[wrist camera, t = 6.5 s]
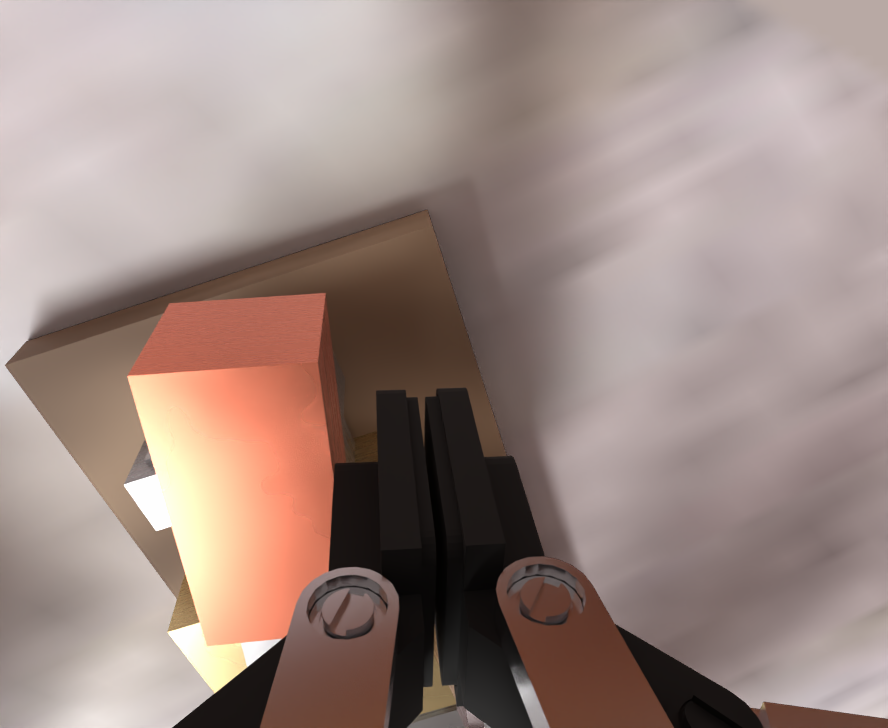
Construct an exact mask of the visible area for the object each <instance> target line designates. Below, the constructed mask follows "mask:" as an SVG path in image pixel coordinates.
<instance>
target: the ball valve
mask: <svg viewBox="0 0 888 728" xmlns="http://www.w3.org/2000/svg"><path fill="white" fill-rule="evenodd" d="M333 357H334V365H335V374H336V382H337V390H338V398H339V407H340V415H341V423H342V431H343V439H344V448H345V456H346V463H354V462H378V452H377V431H375V432H372V433H369V434H365V435H362V436H359V437H356V438H353V436H352V434H351V432H350V430H349V427H348V425H347V423H346V421H345V419H344V395H345V377H344V375H343V372H342V370H341V368H340V366H339V363H338V361H337V359H336V357H335V354H334V352H333ZM124 486H125V487H126V489H127V490H128V492H129V493H130V494H131V496H132V497H133V499H134V500H135V501H136V503H137V504H138V506H139V507H140V509H141V510H142V511H143V513H144V514H145V516H146V517H147V518H148V520H149V521H150V523H151V524H152V526H153V527H154V528H155V530H156V531H157V530H160V529H164V528H167V527H170V526H171V523H170V520H169V516H168V513H167V509H166V506H165V503H164V499H163V496H162V492H161V489H160V486H159V482H158V479H157V475H156V472H155V469H154V465H153V462H152V458H151V455H150V452H149V448H148V445H147V441H146V438H145V440H144V442H143V444H142V447H141V449H140V451H139V453H138V455H137V457H136V459H135V462H134V464H133V466H132V468H131V470H130V472H129V475H128V477H127V479H126V481H125V483H124ZM168 634H169V635H170V636H171V637H172V639H173V640H174V641H175V643H176V644H177V645H178V646H179V648H180V649H181V650H182V652H183V653H184V654H185V656H186V657H187V658H188V659H189V661H190V662H191V663H192V665H193V666H194V667H195V668H196V670H197V671H198V672H199V674H200V675H201V676H202V677H203V679H204V680H205V681H206V683H207V684H208V685H209V686H210V688H211V689H212V690H213V692H214V693H216V692H217V691H218V690H220V689H221V688H222V687H223V686H225V685H226V684H227V683H228V682H229V681H231V680H232V679H233V678H234V677H236V676H237V675H238V674H239V673H241V672H242V671H243V670H244V669H246V668H247V665H246V661H245V657H244V653H243V649H242V645H241V643H235V644H225V645H216V646H207V645H206V642H205V638H204V635H203V632H202V628H201V625H200V622H199V618H198V615H197V611H196V608H195V605H194V601H193V598H192V594H191V591H190V588H189V584H188V581H187V577H186V574H185V575H184V578H183V581H182V585H181V588H180V591H179V595H178V598H177V602H176V605H175V608H174V612H173V615H172V619H171V622H170V625H169V629H168ZM407 728H469V727H468V720H467V713H466V709H465V708H464V706H459V707H457V705H456V698H455V690H454V685H446V686H442V683H441V677H440V668H439V659H438V650H437V641H436V632H435V625H434V660H433V686H432V687H423V711H422V712H421V713H420V714H419V715H418V716H417V717H416V718H415V720H414V721H413V722H412V723H411V724H410V725H409V726H408V727H407Z"/></svg>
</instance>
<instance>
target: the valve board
mask: <svg viewBox="0 0 888 728" xmlns="http://www.w3.org/2000/svg"><path fill="white" fill-rule="evenodd" d="M318 293H326V300H327V308H328V316H329V324H330V333H331V341H332V349H333V352H334V354H335V357H336V359H337V361H338V363H339V366H340V368H341V370H342V372H343V375H344V377H345V395H344V419H345V421H346V423H347V425H348V427H349V430H350V432H351V434H352V436H353V438H356V437H359V436H362V435H365V434H369V433H372V432H375V431H377V413H376V390H406V397H418V404H419V412H420V420H421V428H422V436H423V444H424V426H425V397H430V396H436V389H437V388H467V391H468V395H469V399H470V403H471V407H472V411H473V415H474V419H475V423H476V427H477V431H478V435H479V439H480V443H481V447H482V451H483V455H484V457H497V456H507V455H506V452H505V449H504V446H503V443H502V439H501V436H500V433H499V430H498V427H497V424H496V421H495V418H494V415H493V412H492V408H491V405H490V402H489V399H488V396H487V393H486V390H485V387H484V384H483V381H482V377H481V374H480V371H479V368H478V365H477V362H476V359H475V356H474V353H473V350H472V346H471V343H470V340H469V337H468V334H467V331H466V328H465V325H464V322H463V319H462V315H461V312H460V309H459V306H458V303H457V300H456V297H455V294H454V291H453V287H452V284H451V281H450V278H449V275H448V272H447V269H446V266H445V263H444V260H443V256H442V253H441V250H440V247H439V244H438V241H437V238H436V235H435V232H434V229H433V225H432V222H431V219H430V216H429V213H428V210H425V211H422V212H419V213H416V214H413V215H410V216H406V217H403V218H400V219H397V220H394V221H391V222H388V223H385V224H382V225H379V226H376V227H373V228H370V229H367V230H364V231H361V232H358V233H355V234H352V235H349V236H346V237H343V238H340V239H337V240H333V241H330V242H327V243H324V244H321V245H318V246H315V247H312V248H309V249H306V250H303V251H300V252H297V253H294V254H291V255H288V256H285V257H282V258H279V259H276V260H273V261H270V262H267V263H264V264H260V265H257V266H254V267H251V268H248V269H245V270H242V271H239V272H236V273H233V274H230V275H227V276H224V277H221V278H218V279H215V280H212V281H209V282H206V283H203V284H200V285H197V286H194V287H191V288H187V289H184V290H181V291H178V292H175V293H172V294H169V295H166V296H163V297H160V298H157V299H154V300H151V301H148V302H145V303H142V304H139V305H136V306H133V307H130V308H127V309H124V310H121V311H117V312H114V313H111V314H108V315H105V316H102V317H99V318H96V319H93V320H90V321H87V322H84V323H81V324H78V325H75V326H72V327H69V328H66V329H63V330H60V331H57V332H54V333H51V334H48V335H44V336H41V337H38V338H35V339H32V340H29V341H26V343H25V344H24V345H23V346H22V347H21V348H20V349H19V350H18V351H17V353H16V354H15V355H14V356H13V357H12V358H11V359H10V360H9V361H8V362H7V364H6V365H5V366H6V367H7V369H8V370H9V372H10V373H11V374H12V376H13V377H14V378H15V380H16V381H17V382H18V384H19V385H20V386H21V388H22V389H23V391H24V392H25V393H26V395H27V396H28V397H29V399H30V400H31V401H32V403H33V404H34V405H35V407H36V408H37V410H38V411H39V412H40V414H41V415H42V416H43V418H44V419H45V420H46V422H47V423H48V424H49V426H50V427H51V429H52V430H53V431H54V433H55V434H56V435H57V437H58V438H59V439H60V441H61V442H62V443H63V445H64V446H65V448H66V449H67V450H68V452H69V453H70V454H71V456H72V457H73V458H74V460H75V461H76V463H77V464H78V465H79V467H80V468H81V469H82V471H83V472H84V473H85V475H86V476H87V477H88V479H89V480H90V482H91V483H92V484H93V486H94V487H95V488H96V490H97V491H98V492H99V494H100V495H101V496H102V498H103V499H104V501H105V502H106V503H107V505H108V506H109V507H110V509H111V510H112V511H113V513H114V514H115V515H116V517H117V518H118V520H119V521H120V522H121V524H122V525H123V526H124V528H125V529H126V530H127V532H128V533H129V534H130V536H131V537H132V539H133V540H134V541H135V543H136V544H137V545H138V547H139V548H140V549H141V551H142V552H143V553H144V555H145V556H146V558H147V559H148V560H149V562H150V563H151V564H152V566H153V567H154V568H155V570H156V571H157V572H158V574H159V575H160V577H161V578H162V579H163V581H164V582H165V583H166V585H167V586H168V587H169V589H170V590H171V591H172V593H173V594H174V596H175V597H176V598H178V595H179V591H180V588H181V585H182V581H183V578H184V575H185V571H184V567H183V564H182V560H181V557H180V554H179V550H178V547H177V543H176V540H175V537H174V533H173V530H172V526H170V527H167V528H164V529H160V530H157V531H156V530H155V528H154V527H153V526H152V524H151V523H150V521H149V520H148V518H147V517H146V516H145V514H144V513H143V511H142V510H141V509H140V507H139V506H138V504H137V503H136V501H135V500H134V499H133V497H132V496H131V494H130V493H129V492H128V490H127V489H126V487H125V486H124V483H125V481H126V479H127V477H128V475H129V472H130V470H131V468H132V466H133V464H134V462H135V459H136V457H137V455H138V453H139V451H140V449H141V447H142V444H143V442H144V440H145V435H144V431H143V428H142V425H141V421H140V418H139V414H138V411H137V408H136V404H135V401H134V397H133V394H132V391H131V387H130V384H129V380H128V377H127V376H128V374H129V372H130V370H131V369H132V367H133V365H134V364H135V362H136V360H137V358H138V357H139V355H140V353H141V351H142V350H143V348H144V346H145V345H146V343H147V341H148V339H149V338H150V336H151V334H152V333H153V331H154V329H155V327H156V326H157V324H158V322H159V320H160V319H161V317H162V315H163V314H164V312H165V310H166V308H167V307H168V305H169V303H181V302H197V301H212V300H227V299H242V298H257V297H272V296H288V295H303V294H318Z"/></svg>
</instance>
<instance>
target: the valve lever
mask: <svg viewBox="0 0 888 728" xmlns="http://www.w3.org/2000/svg"><path fill="white" fill-rule="evenodd" d="M127 377H128V380H129V384H130V387H131V391H132V394H133V397H134V401H135V404H136V408H137V411H138V414H139V418H140V421H141V425H142V428H143V431H144V435H145V438H146V441H147V445H148V448H149V452H150V455H151V458H152V462H153V465H154V469H155V472H156V475H157V479H158V482H159V486H160V489H161V492H162V496H163V499H164V503H165V506H166V509H167V513H168V516H169V520H170V523H171V526H172V530H173V533H174V537H175V540H176V543H177V547H178V550H179V554H180V557H181V560H182V564H183V567H184V571H185V574H186V577H187V581H188V584H189V588H190V591H191V594H192V598H193V601H194V605H195V608H196V611H197V615H198V618H199V622H200V625H201V628H202V632H203V635H204V638H205V642H206V645H207V646H216V645H225V644H235V643H241V645H242V649H243V653H244V657H245V661H246V665H247V667H248V666H249V665H250V664H252V663H253V662H254V661H255V660H257V659H258V658H259V657H260V656H262V655H263V654H264V653H265V652H267V651H268V650H269V649H270V648H272V647H273V646H274V645H275V644H276V643H278V642H279V641H280V640H281V639H283V638H284V637H285V636H286V635H287V633H288V630H289V626H290V623H291V620H292V616H293V613H294V609H295V606H296V603H297V601H298V599H299V597H300V595H301V593H302V591H303V589H304V588H305V587H306V586H307V585H308V584H309V583H310V582H311V581H312V580H314V579H315V578H317V577H319V576H320V575H322V574H324V573H326V572H328V571H329V554H330V536H331V518H332V500H333V482H334V467H335V463H346V456H345V448H344V439H343V431H342V423H341V415H340V407H339V398H338V390H337V382H336V374H335V365H334V357H333V349H332V341H331V333H330V324H329V316H328V308H327V300H326V293H318V294H303V295H288V296H272V297H257V298H242V299H227V300H212V301H197V302H181V303H169V305H168V307H167V308H166V310H165V312H164V314H163V315H162V317H161V319H160V320H159V322H158V324H157V326H156V327H155V329H154V331H153V333H152V334H151V336H150V338H149V339H148V341H147V343H146V345H145V346H144V348H143V350H142V351H141V353H140V355H139V357H138V358H137V360H136V362H135V364H134V365H133V367H132V369H131V370H130V372H129V374H128V376H127Z"/></svg>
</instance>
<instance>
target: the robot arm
mask: <svg viewBox="0 0 888 728" xmlns="http://www.w3.org/2000/svg"><path fill="white" fill-rule="evenodd" d="M376 413H377V452H378V462H354V463H335V467H334V482H333V500H332V518H331V536H330V554H329V571H328V572H326V573H324V574H322V575H320V576H319V577H317V578H315V579H314V580H312V581H311V582H310V583H309V584H308V585H307V586H306V587H305V588H304V589H303V591H302V593H301V595H300V597H299V599H298V601H297V603H296V606H295V609H294V613H293V616H292V620H291V623H290V626H289V630H288V633H287V635H286V636H285V637H284V638H283V639H281V640H280V641H279V642H278V643H276V644H275V645H274V646H273V647H272V648H270V649H269V650H268V651H267V652H265V653H264V654H263V655H262V656H260V657H259V658H258V659H257V660H255V661H254V662H253V663H252V664H250V665H249V666H248V667H247V668H246V669H244V670H243V671H242V672H241V673H239V674H238V675H237V676H236V677H234V678H233V679H232V680H231V681H229V682H228V683H227V684H226V685H225V686H223V687H222V688H221V689H220V690H218V691H217V692H216V693H215V694H213V695H212V696H211V697H210V698H208V699H207V700H206V701H205V702H203V703H202V704H201V705H200V706H199V707H197V708H196V709H195V710H194V711H192V712H191V713H190V714H189V715H187V716H186V717H185V718H184V719H182V720H181V721H180V722H179V723H178V724H176V725H175V726H174V727H173V728H407V727H408V726H409V725H410V724H411V723H412V722H413V721H414V720H415V718H416V717H417V716H418V715H419V714H420V713H421V712H422V711H423V687H432V686H433V660H434V625H435V632H436V641H437V650H438V659H439V668H440V677H441V683H442V686H446V685H454V690H455V698H456V705H457V707H459V706H464V708H465V709H467V710H468V711H469V712H471V713H472V714H473V715H475V716H476V717H477V718H479V719H480V720H481V721H483V722H484V728H888V719H885V718H878V717H871V716H864V715H856V714H849V713H842V712H835V711H828V710H820V709H813V708H806V707H799V706H792V705H784V704H777V703H770V702H763V704H762V707H761V709H756V708H750V707H749V706H748V705H747V704H746V703H745V702H744V701H742V700H741V699H740V698H738V697H737V696H736V695H734V694H733V693H732V692H730V691H729V690H727V689H725V688H723V687H722V686H720V685H718V684H717V683H715V682H713V681H711V680H710V679H708V678H706V677H705V676H703V675H701V674H700V673H698V672H696V671H694V670H693V669H691V668H689V667H688V666H686V665H684V664H682V663H681V662H679V661H677V660H676V659H674V658H672V657H670V656H669V655H667V654H665V653H664V652H662V651H660V650H659V649H657V648H655V647H653V646H652V645H650V644H648V643H647V642H645V641H643V640H641V639H640V638H638V637H636V636H635V635H633V634H631V633H630V632H628V631H626V630H624V629H623V628H621V627H619V626H618V625H616V624H614V622H613V620H612V618H611V617H610V615H609V613H608V611H607V610H606V608H605V606H604V604H603V603H602V601H601V599H600V597H599V596H598V594H597V592H596V590H595V588H594V587H593V585H592V584H591V582H590V581H589V580H588V579H587V577H586V576H585V575H584V574H583V573H582V572H581V571H579V570H578V569H577V568H575V567H574V566H573V565H571V564H568V563H566V562H564V561H561V560H559V559H555V558H549V557H545V556H544V553H543V549H542V546H541V543H540V540H539V536H538V533H537V530H536V527H535V523H534V520H533V517H532V514H531V511H530V507H529V504H528V501H527V498H526V494H525V491H524V488H523V485H522V482H521V478H520V475H519V472H518V469H517V465H516V462H515V460H514V458H513V457H512V456H497V457H484V455H483V451H482V447H481V443H480V439H479V435H478V431H477V427H476V423H475V419H474V415H473V411H472V407H471V403H470V399H469V395H468V391H467V388H437V389H436V396H430V397H425V426H424V444H423V436H422V428H421V420H420V412H419V404H418V397H406V390H376Z"/></svg>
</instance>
